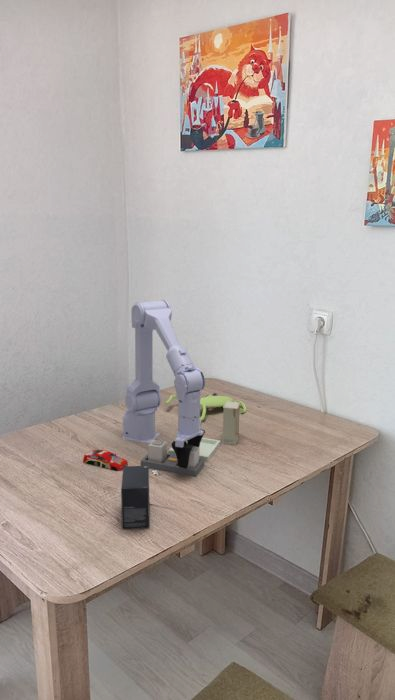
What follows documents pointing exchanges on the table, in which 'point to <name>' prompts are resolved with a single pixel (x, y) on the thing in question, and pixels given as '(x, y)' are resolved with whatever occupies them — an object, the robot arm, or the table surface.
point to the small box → (135, 497)
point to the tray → (204, 448)
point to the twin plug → (157, 451)
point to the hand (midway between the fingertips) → (188, 461)
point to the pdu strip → (173, 466)
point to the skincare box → (231, 423)
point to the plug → (194, 457)
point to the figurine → (212, 403)
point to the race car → (105, 460)
